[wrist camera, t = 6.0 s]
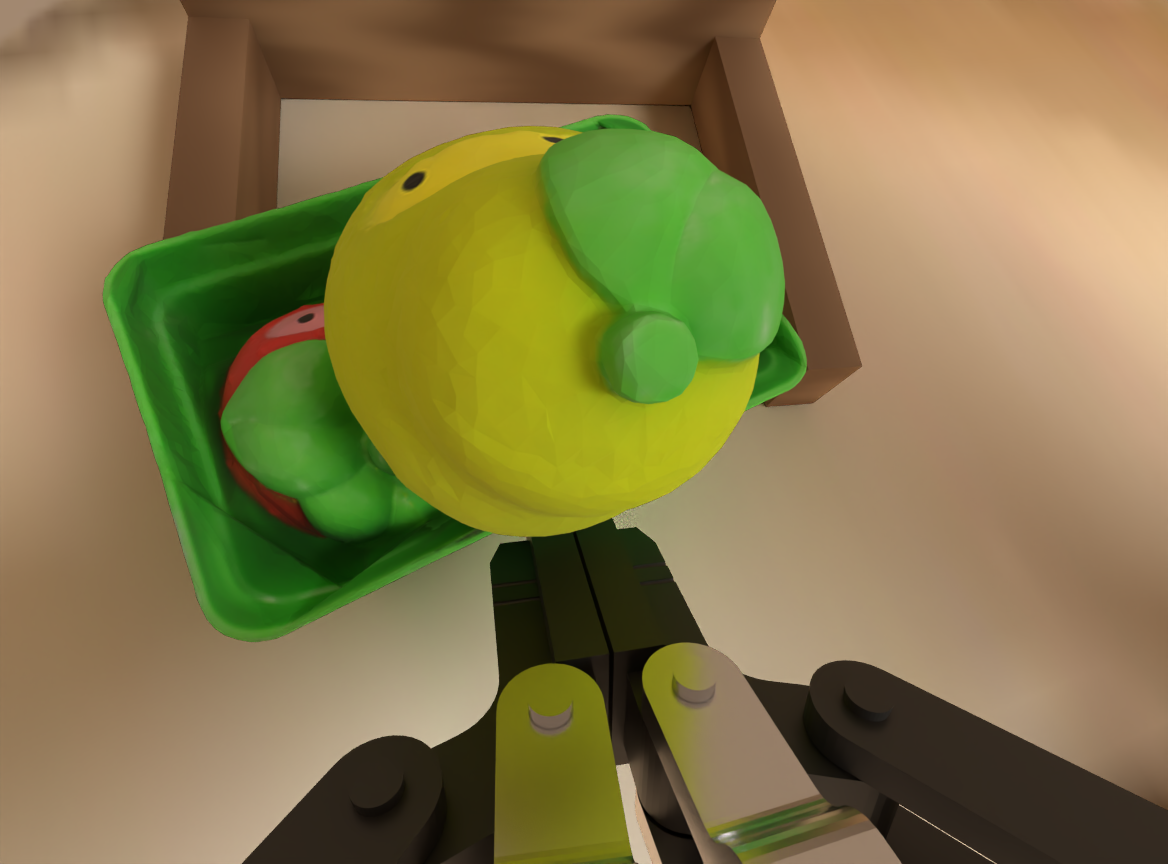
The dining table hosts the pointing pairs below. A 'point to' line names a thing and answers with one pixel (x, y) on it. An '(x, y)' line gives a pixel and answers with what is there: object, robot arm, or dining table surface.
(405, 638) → the dining table surface
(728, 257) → the fruit basket
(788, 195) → the frame
